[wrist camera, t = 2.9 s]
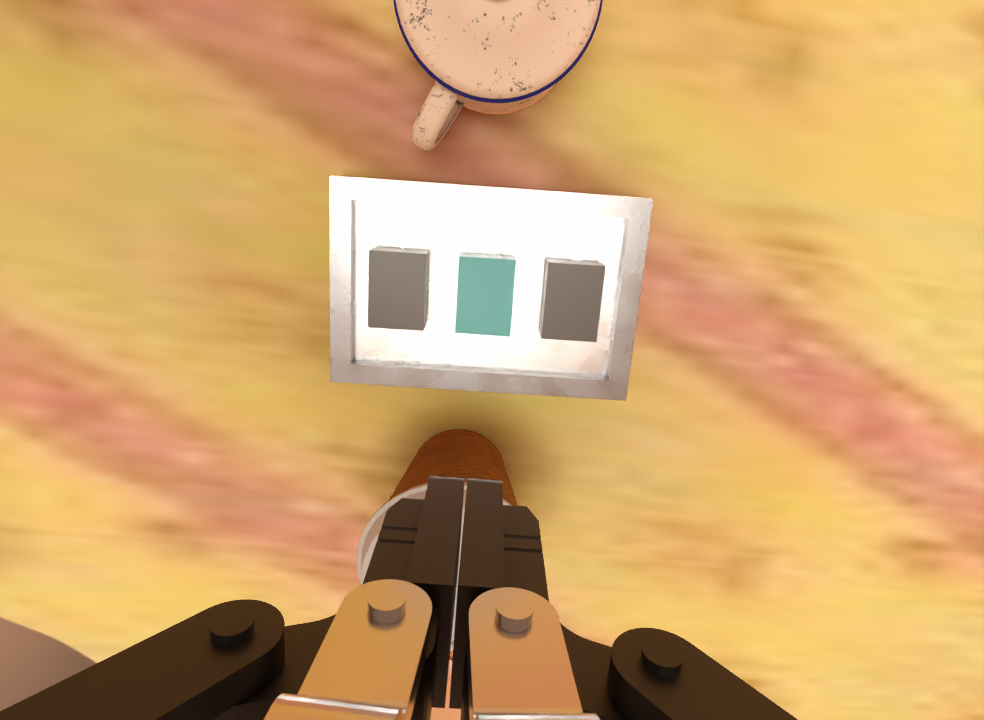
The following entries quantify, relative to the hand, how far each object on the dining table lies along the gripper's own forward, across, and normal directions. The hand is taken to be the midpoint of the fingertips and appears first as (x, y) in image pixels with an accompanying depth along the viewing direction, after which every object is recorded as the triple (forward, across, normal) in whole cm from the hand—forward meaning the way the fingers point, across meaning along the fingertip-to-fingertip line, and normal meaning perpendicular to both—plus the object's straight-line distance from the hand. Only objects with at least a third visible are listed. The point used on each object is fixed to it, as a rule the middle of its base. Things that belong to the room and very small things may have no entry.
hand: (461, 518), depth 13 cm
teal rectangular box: (+24, 0, 0) cm, 24 cm away
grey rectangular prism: (+24, +5, 0) cm, 24 cm away
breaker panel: (+27, 0, 0) cm, 27 cm away
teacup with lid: (+27, +1, -13) cm, 30 cm away
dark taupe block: (+24, -5, 0) cm, 25 cm away
